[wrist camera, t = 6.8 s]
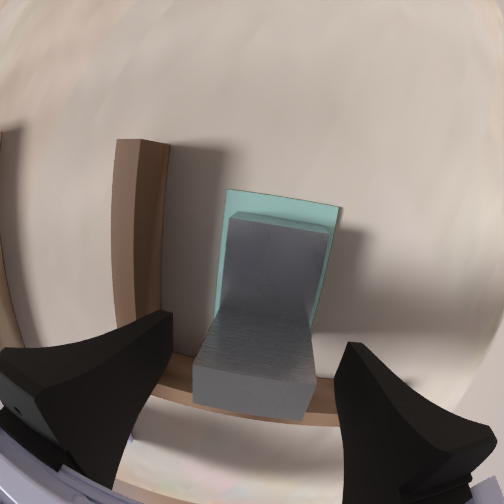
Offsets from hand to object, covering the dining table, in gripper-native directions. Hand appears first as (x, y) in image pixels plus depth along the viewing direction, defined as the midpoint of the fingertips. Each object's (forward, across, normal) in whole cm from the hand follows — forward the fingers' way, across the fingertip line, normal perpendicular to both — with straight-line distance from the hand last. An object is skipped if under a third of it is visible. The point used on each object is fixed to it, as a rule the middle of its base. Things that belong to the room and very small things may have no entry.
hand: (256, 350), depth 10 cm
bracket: (+4, 0, -2) cm, 4 cm away
